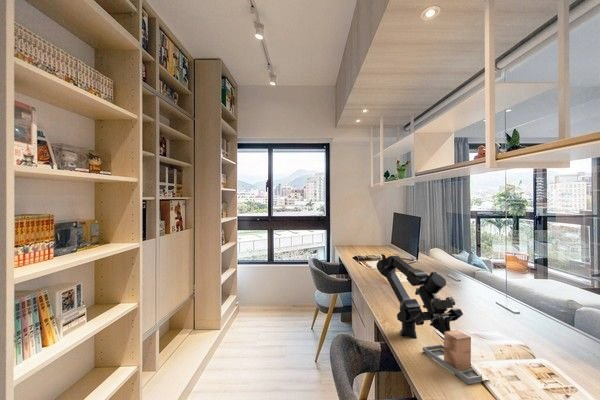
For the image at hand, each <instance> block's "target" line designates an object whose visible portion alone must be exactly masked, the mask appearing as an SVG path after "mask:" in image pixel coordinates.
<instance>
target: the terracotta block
mask: <svg viewBox="0 0 600 400" xmlns="http://www.w3.org/2000/svg"><path fill="white" fill-rule="evenodd" d="M443 339H444V340H443V343H444V344H443V345H444V361H445V362H447V363H448V364H450V365H451V366H453V367H454V368H455V369H457V370H458V371H459V370H464V369H469V368H471V363H472V360H471V359H472V337H471V335H468V334H466V333H464V332H462V330H458V329H454V330H451V331H446V332H444V335H443Z"/></svg>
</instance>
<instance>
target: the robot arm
mask: <svg viewBox="0 0 600 400" xmlns="http://www.w3.org/2000/svg"><path fill="white" fill-rule="evenodd" d="M376 270H377V271H378V273H380V274H381V276H383V277H384V278H386V280H387V281H388V283H389V285H390V287H391V289H392V291H393V292H394V294H395V297H396V298H397V301H398V302H399V312H398V313H397V314H396V319H397V320H398V321H400V322H401V329H400V336H401V337H405V338H411V339H417V331H416V326H423V325H424V323H425V322H427V321H430V323H429V326H430V327H433V328H434V329H435V330H437V331H438V332H439V333H440V334H442V335H443V336H444V332H446V331H452V330H451V323H450V322H455V321H457V320H458V319H460V318H461V317H463V315H464V313H463V311H462V309H460V308H457V307H456V308H454V306H455V305H456V301H455V299H454V298H453V296H448V297H445V299H441V298H440V297H438V298H437V294H438V293H439V292H441V290H442V289H444V287H446V285H447V281H446V280H447V279H446V278H445V277H443V276H442V275H440V274H438V273H437V271H431V272H430V273H429V275H428V273H427V272H426V271H424V270H423V269H419V268H414V267H413V266H412V265H410V264H409V263H408V262H406V261H404V259H402V258H401V257H400V255H389V256H388V257H385V258H383V259H379V260H378V261H377V262H376ZM396 270H398V271H399V272H400V273H402V275H404V276H405V277H406V280H407V281H408V283H409V284H410V285H411V286H412V287H417V288H415V292H414V295H415V296H419V298H420V299H421V301H422V303H423V305H420V304H419V302H418V300H417V299H416V298H411V297H410V296H409V294H408V292H407V290H406V289H405V287H404V285H403V283H402V282H401V279H399V277H398V275H397V273H396ZM421 306H422V309H426V311H423V310H422V309H421ZM448 309H449V310H448Z"/></svg>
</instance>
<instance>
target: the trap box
mask: <svg viewBox="0 0 600 400" xmlns="http://www.w3.org/2000/svg"><path fill="white" fill-rule="evenodd" d="M422 353H423V354H425V356H427V357H429V358H430V359H432V361H434V362H436V364H439V365H440V366H441V367H443V368H444V369H446V370H447V371H448V372H450V373H451V374H453V375H454V376H455V377H457V378H458V379H459V380H461V381H463V382H464V383H465V384H466V385H468V386H469V385H473V384H480V383H483V382H482V381H481V380H482V374H481V375H478V376H477V375H476V373H475V372H474V370H473V369H472V367H471V368H469V369H464V370H459V371H458V370H457V369H455V368H454V367H453V366H451V365H450V364H448V363H447V362H445V361H444V344H442V343H441V344H434V345H427V346H423V347H422Z"/></svg>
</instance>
